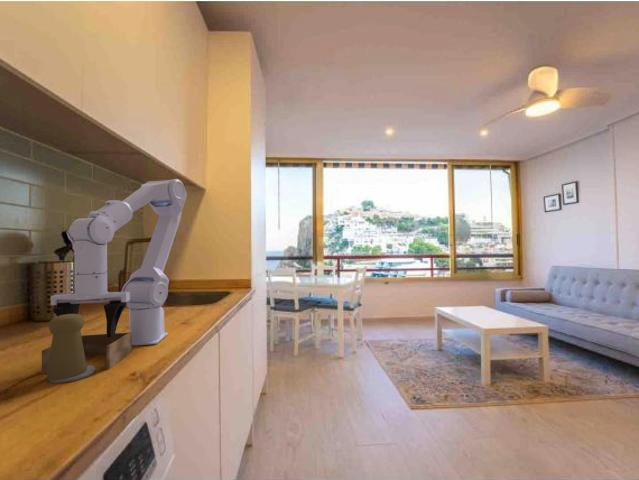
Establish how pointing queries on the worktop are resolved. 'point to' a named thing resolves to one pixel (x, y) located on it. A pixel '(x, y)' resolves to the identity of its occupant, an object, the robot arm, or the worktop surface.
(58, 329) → the pepper mill
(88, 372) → the coaster
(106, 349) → the open wooden enclosure
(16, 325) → the worktop surface
